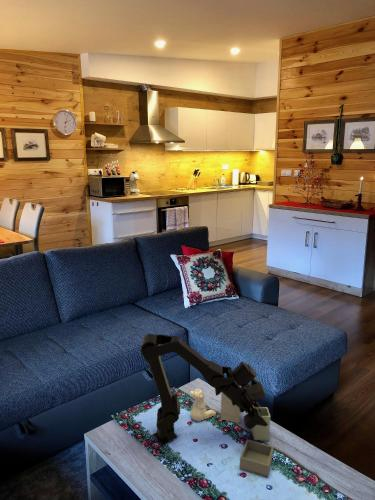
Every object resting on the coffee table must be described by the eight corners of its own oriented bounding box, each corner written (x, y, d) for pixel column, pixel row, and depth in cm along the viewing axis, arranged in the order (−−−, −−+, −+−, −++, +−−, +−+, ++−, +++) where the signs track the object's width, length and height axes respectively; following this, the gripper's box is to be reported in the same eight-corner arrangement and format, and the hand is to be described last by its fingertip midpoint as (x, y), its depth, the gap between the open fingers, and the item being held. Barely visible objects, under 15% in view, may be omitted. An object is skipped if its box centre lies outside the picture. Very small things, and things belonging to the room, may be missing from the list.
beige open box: (254, 441, 142) (255, 416, 139) (251, 430, 147) (252, 407, 144) (268, 440, 142) (270, 416, 139) (265, 430, 147) (267, 407, 144)
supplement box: (239, 423, 151) (240, 393, 148) (220, 420, 152) (220, 391, 149) (240, 411, 158) (242, 382, 155) (222, 408, 159) (223, 380, 156)
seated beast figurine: (216, 415, 155) (217, 387, 152) (204, 427, 149) (204, 399, 146) (196, 406, 161) (196, 379, 158) (183, 417, 154) (183, 390, 151)
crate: (239, 469, 129) (240, 457, 128) (246, 450, 137) (246, 439, 136) (267, 477, 126) (268, 465, 125) (272, 457, 134) (273, 446, 133)
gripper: (257, 394, 129) (288, 423, 132) (247, 364, 147) (276, 390, 150) (232, 416, 131) (263, 444, 134) (225, 383, 149) (254, 408, 152)
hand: (265, 420), depth 143 cm, fingers closed on beige open box, 5 cm apart
